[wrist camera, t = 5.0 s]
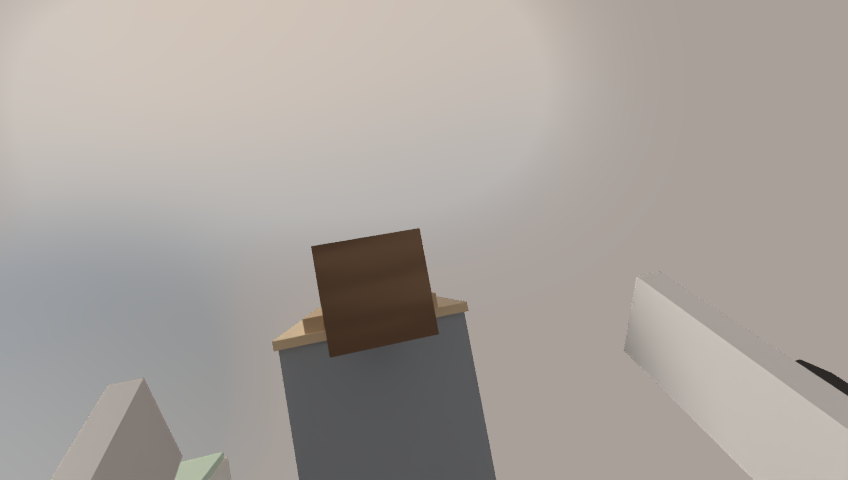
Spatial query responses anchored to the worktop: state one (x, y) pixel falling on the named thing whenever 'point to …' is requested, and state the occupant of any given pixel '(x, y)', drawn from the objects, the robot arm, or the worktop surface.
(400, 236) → the walnut block
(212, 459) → the felt block
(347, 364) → the pillar
